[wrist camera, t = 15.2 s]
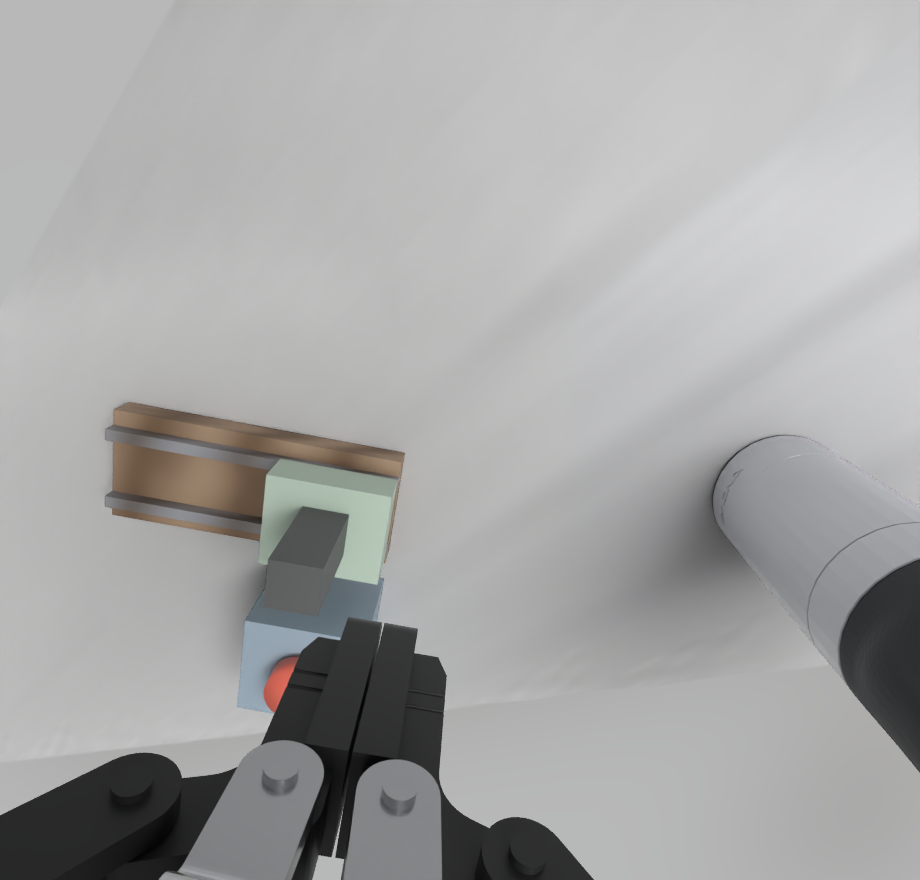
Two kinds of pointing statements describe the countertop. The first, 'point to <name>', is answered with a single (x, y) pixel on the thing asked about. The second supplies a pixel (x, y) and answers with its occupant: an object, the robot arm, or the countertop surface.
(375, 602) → the button box
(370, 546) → the carriage
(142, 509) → the rail track
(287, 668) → the button
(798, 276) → the countertop surface
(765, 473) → the robot arm
